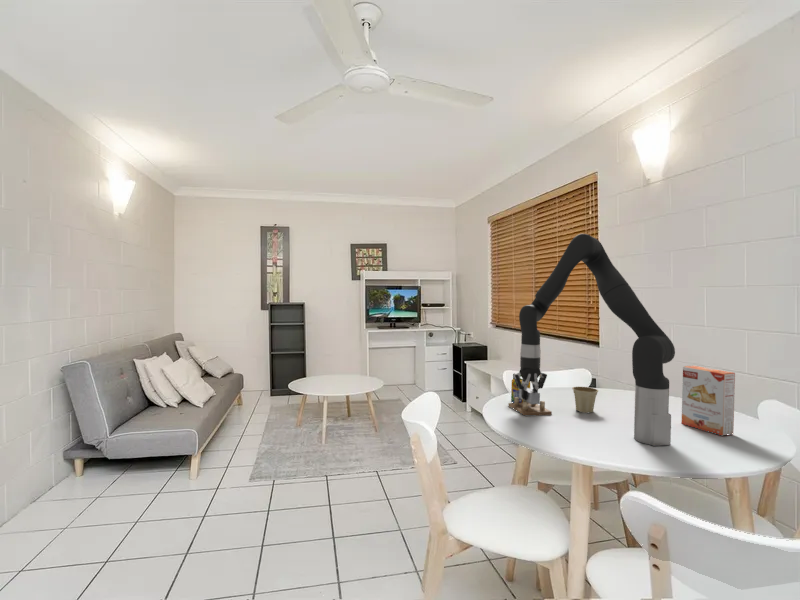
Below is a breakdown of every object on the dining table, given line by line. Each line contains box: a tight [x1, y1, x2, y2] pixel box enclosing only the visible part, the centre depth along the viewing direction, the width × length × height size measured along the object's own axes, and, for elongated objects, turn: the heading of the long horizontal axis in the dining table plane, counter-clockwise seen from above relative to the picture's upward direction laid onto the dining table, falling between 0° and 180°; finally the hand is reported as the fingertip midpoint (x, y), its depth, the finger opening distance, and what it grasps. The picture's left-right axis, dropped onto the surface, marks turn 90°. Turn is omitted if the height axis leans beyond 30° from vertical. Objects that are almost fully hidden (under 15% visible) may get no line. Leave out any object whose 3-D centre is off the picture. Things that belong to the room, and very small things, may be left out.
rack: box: [508, 397, 553, 416], centre depth 168 cm, size 14×11×4 cm
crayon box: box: [510, 375, 531, 403], centre depth 178 cm, size 7×3×12 cm, turn 64°
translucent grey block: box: [519, 387, 541, 405], centre depth 168 cm, size 10×4×4 cm, turn 11°
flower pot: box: [572, 386, 599, 414], centre depth 168 cm, size 9×9×9 cm
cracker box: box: [681, 365, 736, 436], centre depth 146 cm, size 14×6×21 cm, turn 21°
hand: (529, 399), depth 168 cm, fingers closed on translucent grey block, 3 cm apart
